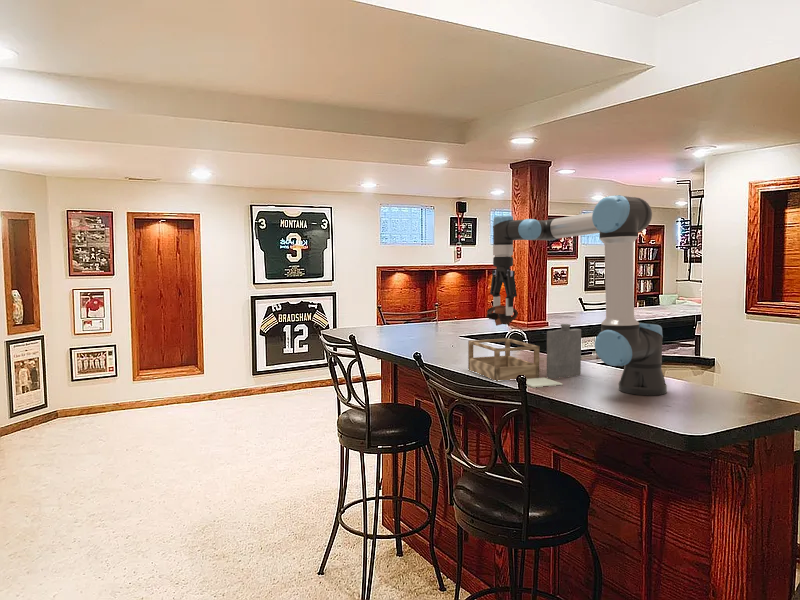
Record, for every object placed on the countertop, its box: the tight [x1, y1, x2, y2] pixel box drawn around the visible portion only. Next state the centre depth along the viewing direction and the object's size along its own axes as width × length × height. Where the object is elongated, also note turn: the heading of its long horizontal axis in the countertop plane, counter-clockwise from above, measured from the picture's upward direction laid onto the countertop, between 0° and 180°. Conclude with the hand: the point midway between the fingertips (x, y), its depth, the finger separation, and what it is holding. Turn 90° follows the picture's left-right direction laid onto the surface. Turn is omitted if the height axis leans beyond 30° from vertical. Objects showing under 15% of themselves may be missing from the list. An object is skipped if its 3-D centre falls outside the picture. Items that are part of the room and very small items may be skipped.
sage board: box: [526, 376, 564, 389], centre depth 222 cm, size 12×12×1 cm
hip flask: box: [546, 323, 582, 379], centre depth 234 cm, size 16×4×20 cm, turn 118°
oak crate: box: [467, 337, 540, 382], centre depth 239 cm, size 24×18×12 cm
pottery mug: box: [486, 304, 519, 327], centre depth 237 cm, size 12×10×8 cm
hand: (503, 314), depth 238 cm, fingers closed on pottery mug, 9 cm apart
